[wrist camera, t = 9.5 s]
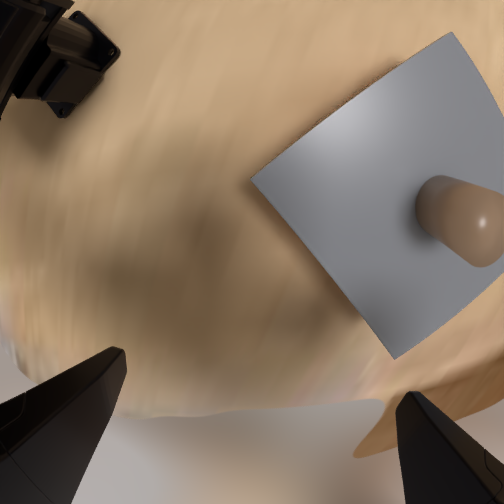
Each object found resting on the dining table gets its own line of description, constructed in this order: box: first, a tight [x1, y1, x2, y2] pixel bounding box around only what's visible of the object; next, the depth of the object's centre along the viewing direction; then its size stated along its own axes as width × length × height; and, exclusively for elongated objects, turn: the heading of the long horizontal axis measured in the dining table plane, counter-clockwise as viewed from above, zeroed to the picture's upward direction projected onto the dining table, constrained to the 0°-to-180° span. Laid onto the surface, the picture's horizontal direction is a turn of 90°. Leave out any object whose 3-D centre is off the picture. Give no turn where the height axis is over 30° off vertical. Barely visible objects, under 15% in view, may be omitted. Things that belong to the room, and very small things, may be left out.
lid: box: [250, 32, 504, 360], centre depth 11 cm, size 13×13×5 cm
